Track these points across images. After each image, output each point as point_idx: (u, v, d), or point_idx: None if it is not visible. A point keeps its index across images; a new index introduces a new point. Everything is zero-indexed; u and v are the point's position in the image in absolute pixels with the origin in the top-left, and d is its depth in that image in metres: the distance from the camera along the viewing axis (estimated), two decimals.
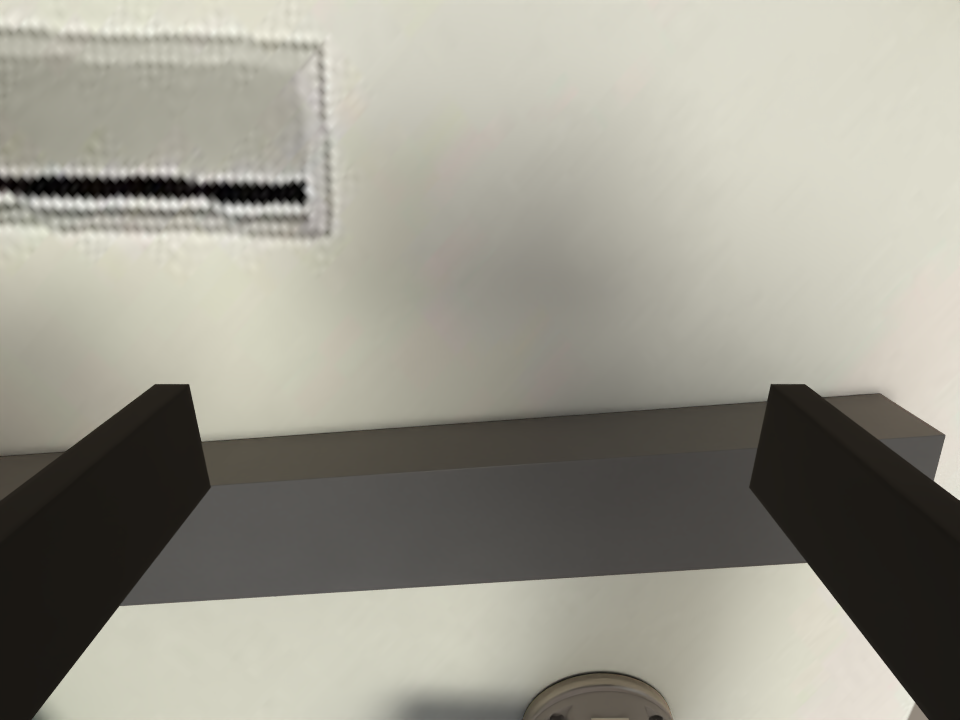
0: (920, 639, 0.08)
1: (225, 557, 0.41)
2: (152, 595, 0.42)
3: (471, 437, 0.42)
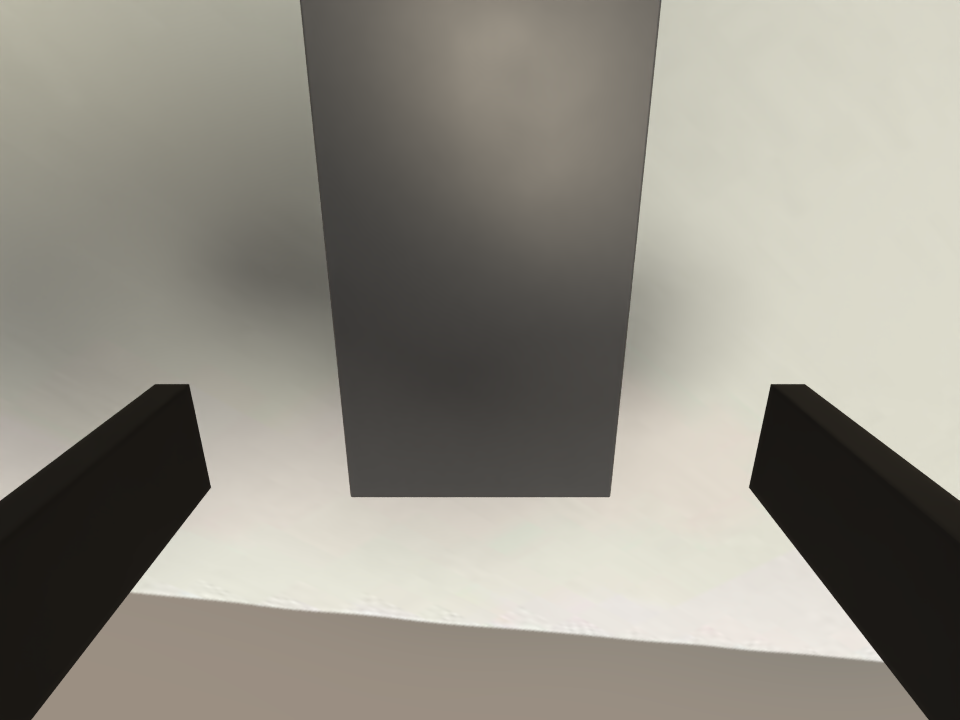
0: (920, 639, 0.08)
1: None
2: None
3: None
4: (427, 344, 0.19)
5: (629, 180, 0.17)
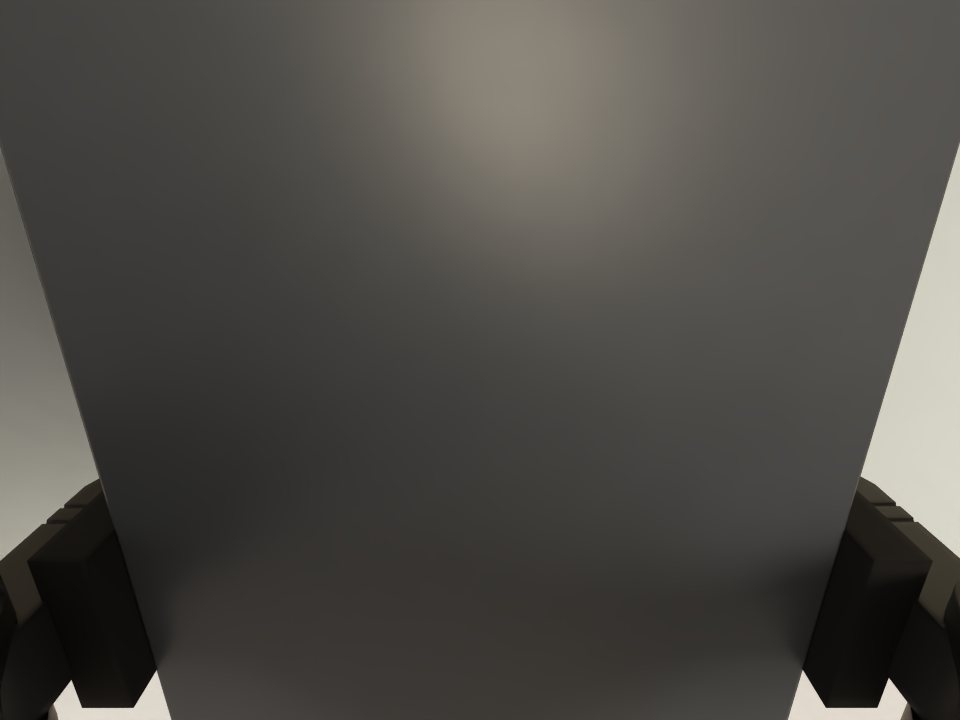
0: None
1: None
2: None
3: None
4: (354, 617, 0.08)
5: (892, 252, 0.06)
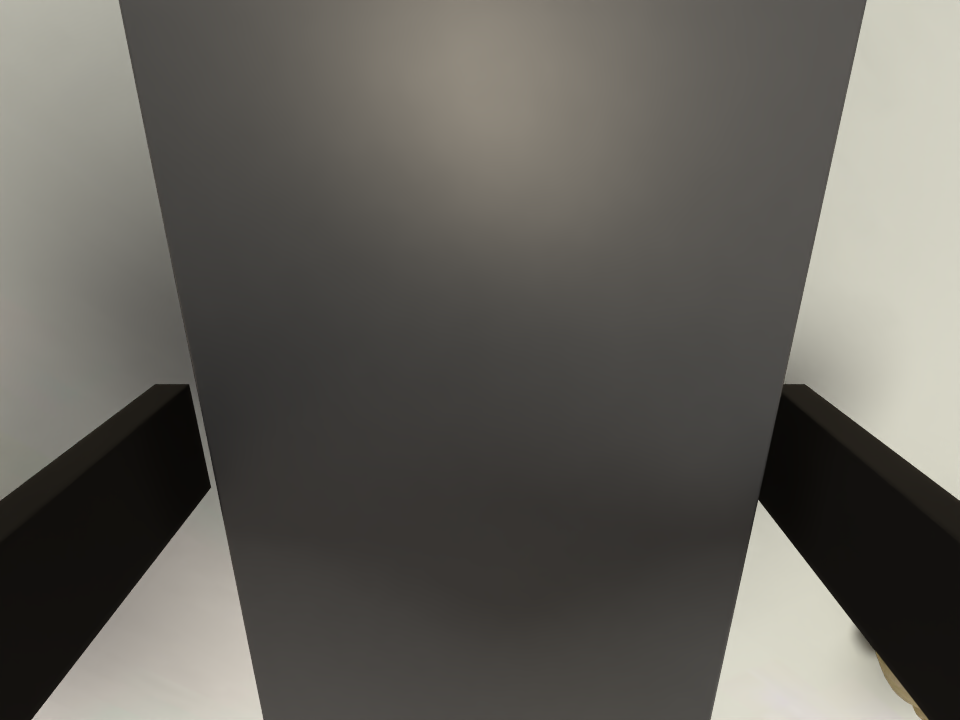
0: (920, 639, 0.08)
1: None
2: None
3: None
4: (389, 511, 0.10)
5: (792, 218, 0.08)
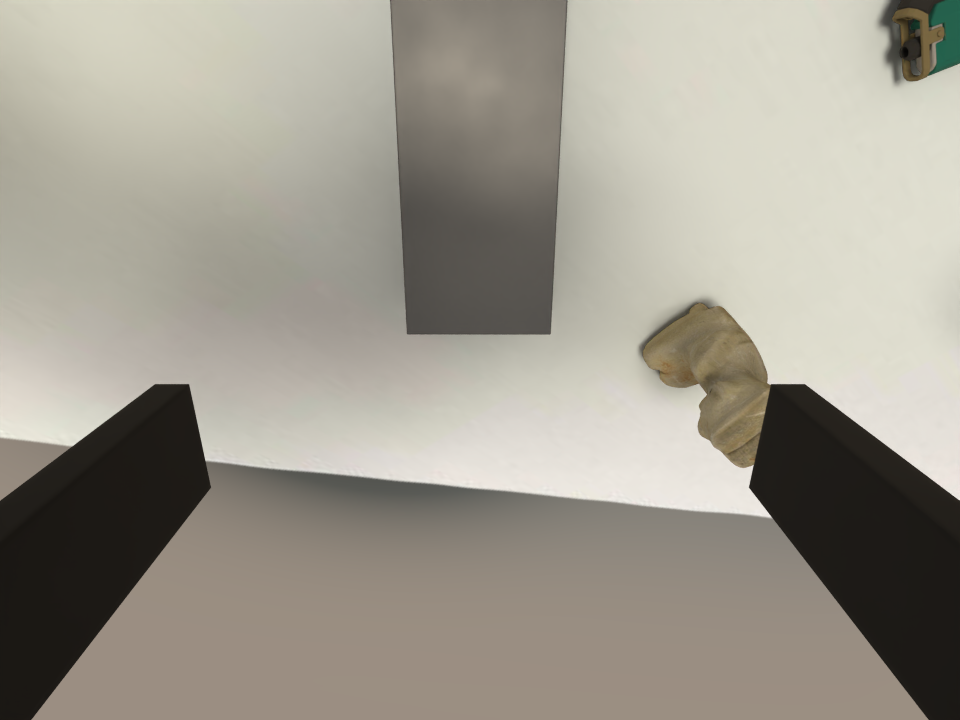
0: (920, 639, 0.08)
1: None
2: None
3: None
4: (450, 243, 0.37)
5: (552, 156, 0.35)
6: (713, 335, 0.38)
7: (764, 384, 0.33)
